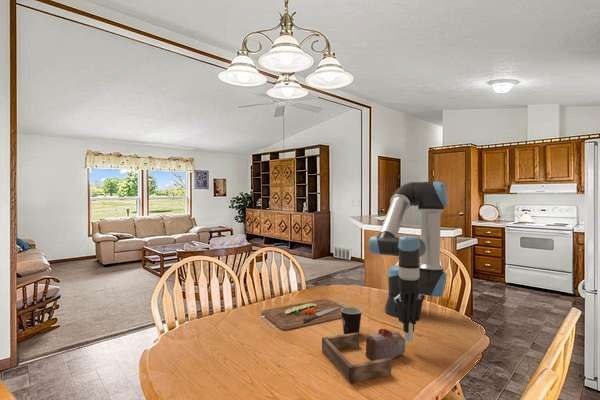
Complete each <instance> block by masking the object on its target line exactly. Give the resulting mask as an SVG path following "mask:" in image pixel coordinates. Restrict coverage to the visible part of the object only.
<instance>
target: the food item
mask: <svg viewBox="0 0 600 400" xmlns="http://www.w3.org/2000/svg"><path fill="white" fill-rule="evenodd" d="M405 352H406V340H405V336H403V335H402V334H401V332H399V331H398V330H396V329H389V330H388V329H387V328H380V329H378V333H377V332H376V333H372V334H371V333H370V334H367V335H366V345H365V357H367V359H368V360H371V361H375V360H380V359H385V358H390V359H391V360H393V359H394V358H396V357H399V356H402V355H403V354H405Z"/></svg>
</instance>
